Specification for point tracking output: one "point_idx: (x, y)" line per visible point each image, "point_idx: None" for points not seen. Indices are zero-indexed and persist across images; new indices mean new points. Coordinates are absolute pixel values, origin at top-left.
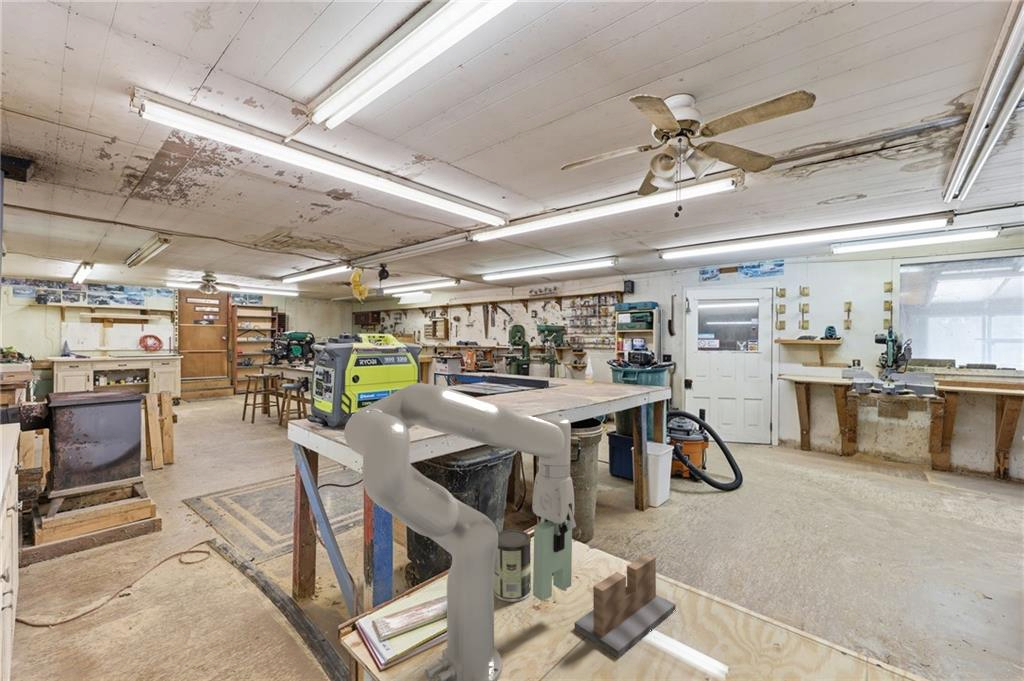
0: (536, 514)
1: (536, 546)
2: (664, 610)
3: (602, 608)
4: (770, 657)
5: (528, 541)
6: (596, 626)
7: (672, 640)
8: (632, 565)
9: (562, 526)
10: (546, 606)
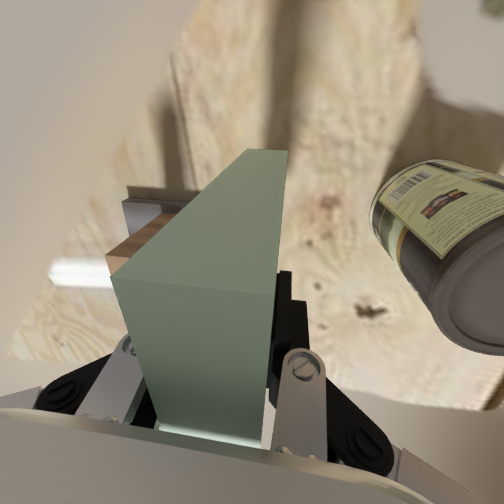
0: (361, 483)
1: (255, 201)
2: None
3: (132, 235)
4: (48, 323)
5: (438, 311)
6: (170, 218)
7: None
8: None
9: (73, 404)
10: (313, 220)
